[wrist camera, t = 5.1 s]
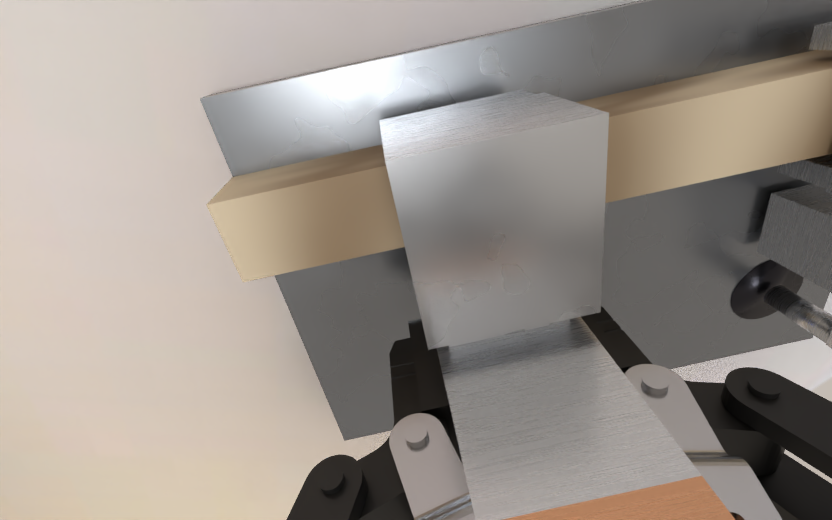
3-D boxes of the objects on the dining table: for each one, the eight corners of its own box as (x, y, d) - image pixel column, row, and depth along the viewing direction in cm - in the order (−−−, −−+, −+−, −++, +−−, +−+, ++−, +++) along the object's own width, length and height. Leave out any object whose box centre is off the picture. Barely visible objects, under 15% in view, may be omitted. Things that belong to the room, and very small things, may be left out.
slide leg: (512, 82, 12) (891, 201, 3) (530, 355, 17) (695, 676, 9) (377, 111, 12) (407, 308, 3) (436, 376, 17) (507, 717, 9)
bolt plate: (923, -61, 12) (967, -69, 11) (792, 324, 20) (813, 338, 19) (211, 94, 12) (199, 99, 11) (345, 422, 20) (344, 441, 19)
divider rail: (930, 25, 13) (1042, 22, 11) (899, 105, 14) (994, 118, 12) (233, 176, 13) (206, 204, 11) (261, 244, 14) (243, 282, 12)
